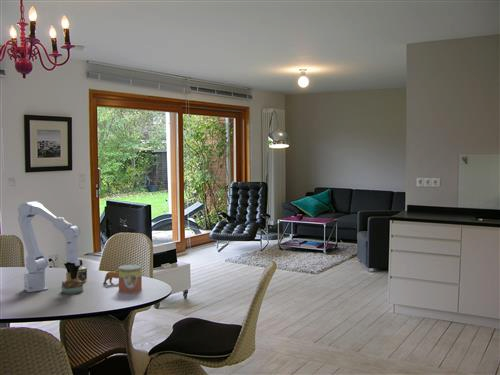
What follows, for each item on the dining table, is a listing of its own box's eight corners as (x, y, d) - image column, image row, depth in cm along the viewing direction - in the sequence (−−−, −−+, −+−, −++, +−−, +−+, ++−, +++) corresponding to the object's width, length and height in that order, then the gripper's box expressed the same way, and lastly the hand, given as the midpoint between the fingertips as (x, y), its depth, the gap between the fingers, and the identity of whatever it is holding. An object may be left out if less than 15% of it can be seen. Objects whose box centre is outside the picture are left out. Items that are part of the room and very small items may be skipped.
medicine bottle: (75, 283, 269) (75, 260, 269) (67, 281, 274) (67, 259, 273) (87, 280, 275) (86, 258, 274) (79, 279, 279) (78, 257, 279)
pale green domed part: (66, 295, 246) (66, 290, 246) (58, 291, 254) (58, 286, 254) (86, 291, 253) (86, 286, 253) (78, 287, 260) (78, 283, 260)
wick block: (68, 287, 251) (68, 273, 250) (66, 286, 253) (66, 272, 252) (78, 286, 254) (78, 272, 253) (76, 285, 256) (76, 271, 255)
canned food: (118, 294, 249) (118, 269, 248) (118, 288, 260) (118, 265, 259) (142, 292, 252) (142, 268, 251) (141, 287, 263) (141, 263, 262)
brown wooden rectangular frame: (66, 288, 248) (66, 283, 248) (62, 286, 253) (62, 281, 253) (82, 286, 254) (82, 281, 254) (78, 284, 258) (78, 279, 258)
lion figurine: (126, 280, 277) (126, 263, 277) (131, 282, 273) (131, 265, 273) (100, 284, 268) (100, 267, 267) (105, 286, 263) (104, 269, 263)
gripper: (85, 251, 249) (86, 279, 250) (74, 247, 260) (74, 274, 261) (71, 253, 245) (71, 281, 246) (60, 249, 256) (60, 276, 257)
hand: (72, 277), depth 253 cm, fingers open, 3 cm apart
